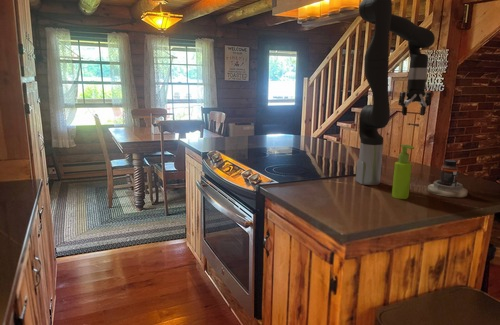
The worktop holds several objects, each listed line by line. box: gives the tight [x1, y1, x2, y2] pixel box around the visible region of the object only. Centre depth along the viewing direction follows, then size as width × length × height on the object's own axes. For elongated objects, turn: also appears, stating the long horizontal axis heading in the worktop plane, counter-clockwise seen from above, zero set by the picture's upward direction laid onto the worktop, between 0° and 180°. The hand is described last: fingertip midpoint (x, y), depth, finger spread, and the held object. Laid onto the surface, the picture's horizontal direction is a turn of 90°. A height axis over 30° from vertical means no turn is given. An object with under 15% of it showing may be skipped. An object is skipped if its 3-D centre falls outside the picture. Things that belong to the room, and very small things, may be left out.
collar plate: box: [427, 179, 469, 198], centre depth 147 cm, size 14×14×4 cm
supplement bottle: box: [439, 159, 459, 186], centre depth 146 cm, size 6×6×11 cm
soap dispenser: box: [391, 144, 415, 200], centre depth 138 cm, size 6×7×20 cm
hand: (413, 115), depth 168 cm, fingers open, 8 cm apart
